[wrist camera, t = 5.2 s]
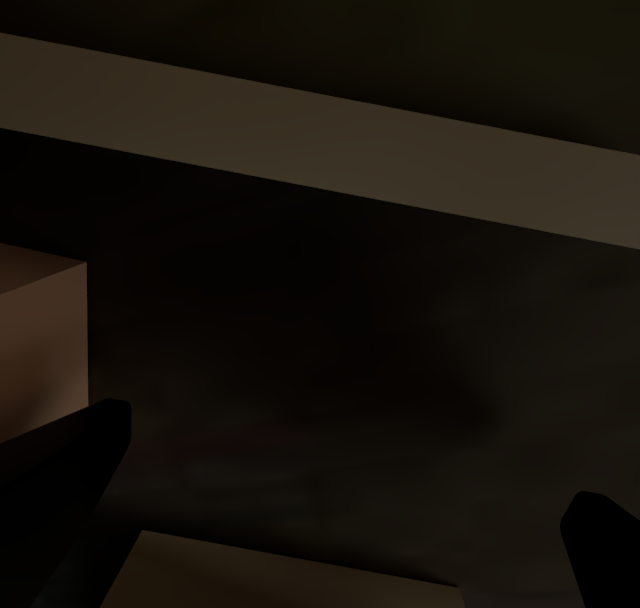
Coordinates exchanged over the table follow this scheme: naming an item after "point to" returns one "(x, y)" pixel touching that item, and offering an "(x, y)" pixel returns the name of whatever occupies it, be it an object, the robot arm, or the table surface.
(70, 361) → the block
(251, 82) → the box
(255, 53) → the table surface
